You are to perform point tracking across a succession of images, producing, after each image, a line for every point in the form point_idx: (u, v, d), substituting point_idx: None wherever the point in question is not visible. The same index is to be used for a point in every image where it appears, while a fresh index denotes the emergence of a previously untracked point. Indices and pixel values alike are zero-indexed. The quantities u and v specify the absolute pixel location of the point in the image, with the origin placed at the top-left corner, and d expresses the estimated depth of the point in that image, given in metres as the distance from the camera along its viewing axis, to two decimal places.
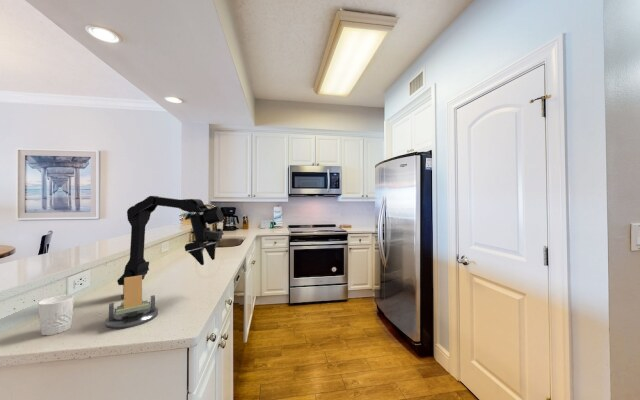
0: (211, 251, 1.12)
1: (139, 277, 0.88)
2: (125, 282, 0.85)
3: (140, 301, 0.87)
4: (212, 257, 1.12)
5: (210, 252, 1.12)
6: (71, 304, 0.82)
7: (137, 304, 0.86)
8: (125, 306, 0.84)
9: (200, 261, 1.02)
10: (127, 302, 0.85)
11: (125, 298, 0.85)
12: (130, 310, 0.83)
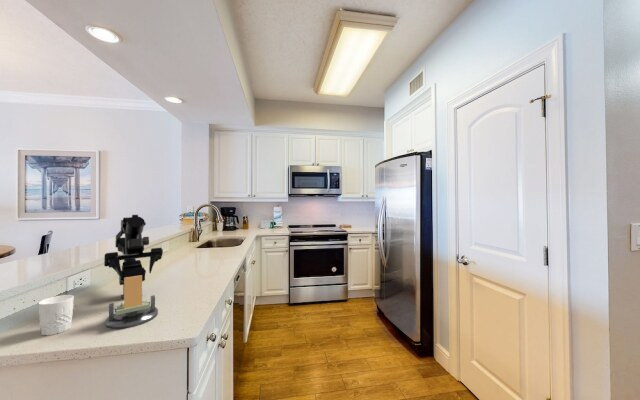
0: (149, 264, 1.02)
1: (139, 277, 0.88)
2: (125, 282, 0.85)
3: (140, 301, 0.87)
4: (149, 270, 1.00)
5: (149, 265, 1.02)
6: (71, 304, 0.82)
7: (137, 304, 0.86)
8: (125, 306, 0.84)
9: (118, 274, 0.94)
10: (127, 302, 0.85)
11: (125, 298, 0.85)
12: (130, 310, 0.83)
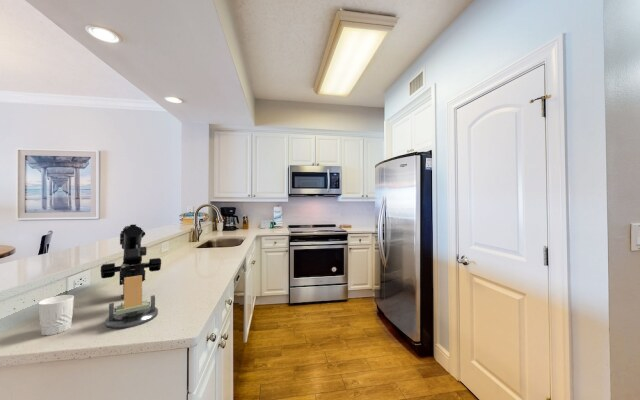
0: None
1: (139, 277, 0.88)
2: (125, 282, 0.85)
3: (140, 301, 0.87)
4: None
5: None
6: (71, 304, 0.82)
7: (137, 304, 0.86)
8: (125, 306, 0.84)
9: None
10: (127, 302, 0.85)
11: (125, 298, 0.85)
12: (130, 310, 0.83)
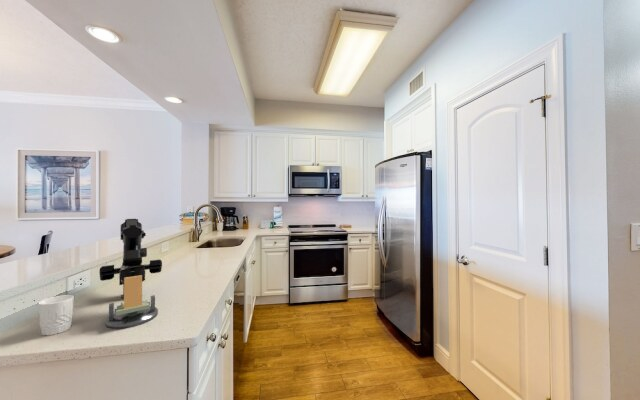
0: None
1: (139, 277, 0.88)
2: (125, 282, 0.85)
3: (140, 301, 0.87)
4: None
5: None
6: (71, 304, 0.82)
7: (137, 304, 0.86)
8: (125, 306, 0.84)
9: None
10: (127, 302, 0.85)
11: (125, 298, 0.85)
12: (130, 310, 0.83)
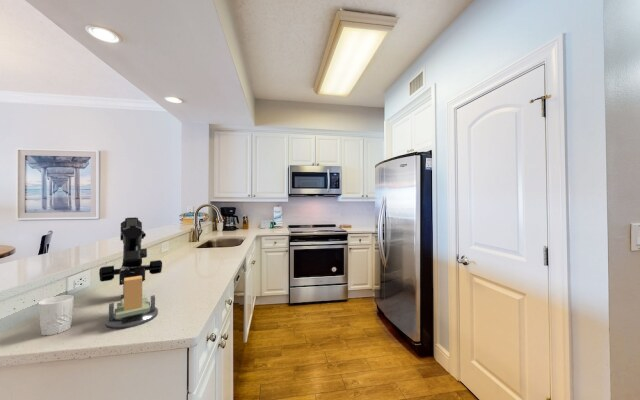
0: None
1: (139, 280, 0.87)
2: (125, 285, 0.84)
3: (140, 303, 0.86)
4: None
5: None
6: (71, 304, 0.82)
7: (137, 306, 0.86)
8: (125, 308, 0.84)
9: None
10: (127, 305, 0.84)
11: (125, 301, 0.84)
12: (130, 314, 0.83)
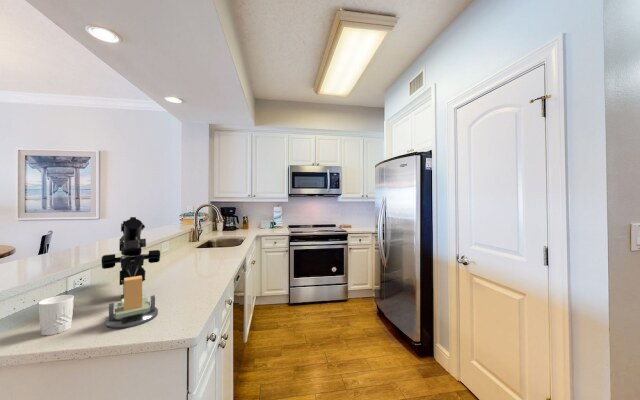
0: (133, 268, 0.99)
1: (139, 280, 0.87)
2: (125, 285, 0.84)
3: (140, 303, 0.86)
4: None
5: (133, 269, 0.99)
6: (71, 304, 0.82)
7: (137, 306, 0.86)
8: (125, 308, 0.84)
9: (129, 273, 0.97)
10: (127, 305, 0.84)
11: (125, 301, 0.84)
12: (130, 314, 0.83)
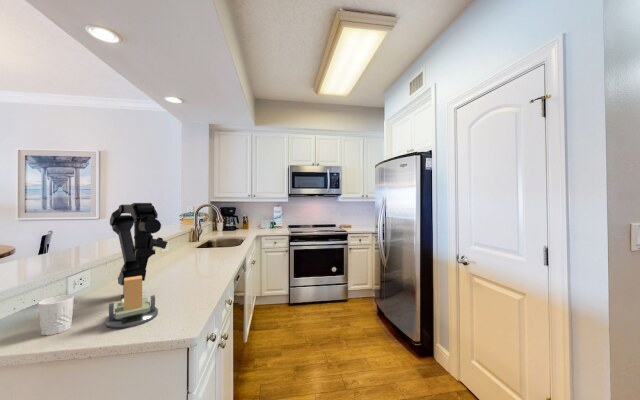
0: None
1: (139, 280, 0.87)
2: (125, 285, 0.84)
3: (140, 303, 0.86)
4: None
5: None
6: (71, 304, 0.82)
7: (137, 306, 0.86)
8: (125, 308, 0.84)
9: (143, 267, 1.01)
10: (127, 305, 0.84)
11: (125, 301, 0.84)
12: (130, 314, 0.83)
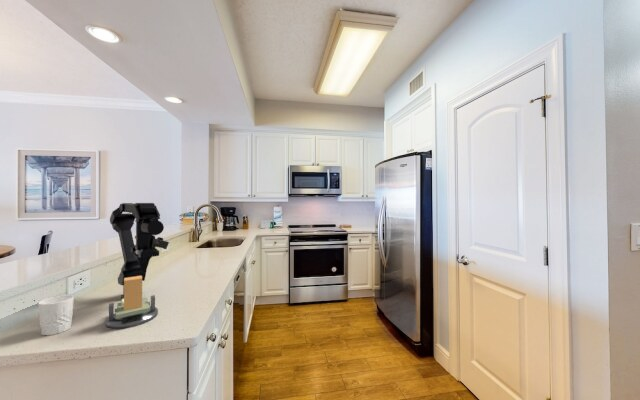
0: None
1: (139, 280, 0.87)
2: (125, 285, 0.84)
3: (140, 303, 0.86)
4: None
5: None
6: (71, 304, 0.82)
7: (137, 306, 0.86)
8: (125, 308, 0.84)
9: (144, 267, 1.01)
10: (127, 305, 0.84)
11: (125, 301, 0.84)
12: (130, 314, 0.83)
